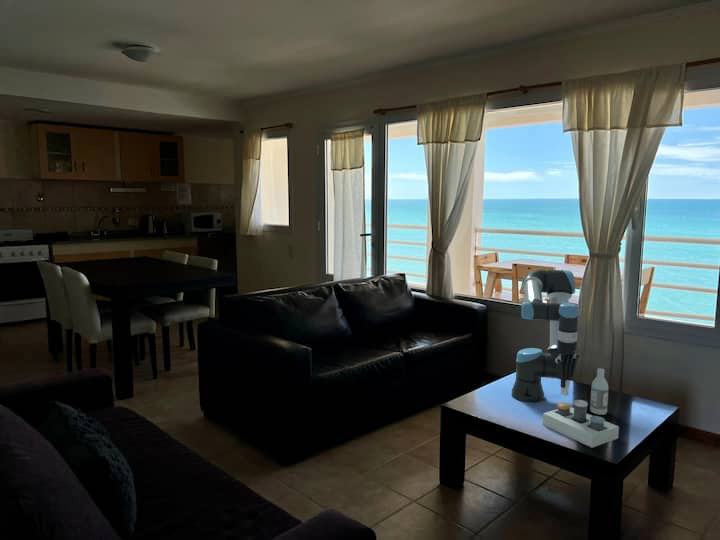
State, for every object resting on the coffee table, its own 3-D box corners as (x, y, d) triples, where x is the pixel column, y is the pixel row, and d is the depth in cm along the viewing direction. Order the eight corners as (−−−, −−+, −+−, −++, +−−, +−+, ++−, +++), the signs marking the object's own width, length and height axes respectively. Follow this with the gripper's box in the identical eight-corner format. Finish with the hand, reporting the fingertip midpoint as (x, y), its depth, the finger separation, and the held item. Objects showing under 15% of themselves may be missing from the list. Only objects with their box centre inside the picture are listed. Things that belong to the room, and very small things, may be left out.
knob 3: (586, 436, 206) (587, 417, 205) (594, 433, 208) (595, 414, 207) (597, 441, 201) (599, 422, 200) (606, 438, 204) (607, 419, 203)
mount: (542, 424, 218) (543, 413, 218) (568, 416, 226) (568, 406, 225) (591, 447, 198) (592, 435, 197) (618, 438, 205) (618, 426, 205)
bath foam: (601, 416, 226) (603, 372, 224) (586, 411, 232) (589, 368, 230) (610, 412, 230) (612, 369, 228) (595, 407, 236) (598, 365, 233)
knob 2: (570, 419, 212) (571, 401, 211) (578, 417, 215) (579, 399, 214) (580, 424, 208) (581, 405, 207) (589, 421, 210) (590, 403, 209)
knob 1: (554, 421, 220) (554, 404, 219) (562, 419, 222) (563, 401, 221) (564, 426, 215) (565, 408, 214) (572, 423, 218) (573, 405, 217)
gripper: (564, 345, 208) (561, 400, 211) (585, 340, 214) (582, 394, 217) (549, 340, 214) (546, 394, 218) (570, 336, 220) (567, 388, 224)
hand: (564, 394), depth 218 cm, fingers closed
